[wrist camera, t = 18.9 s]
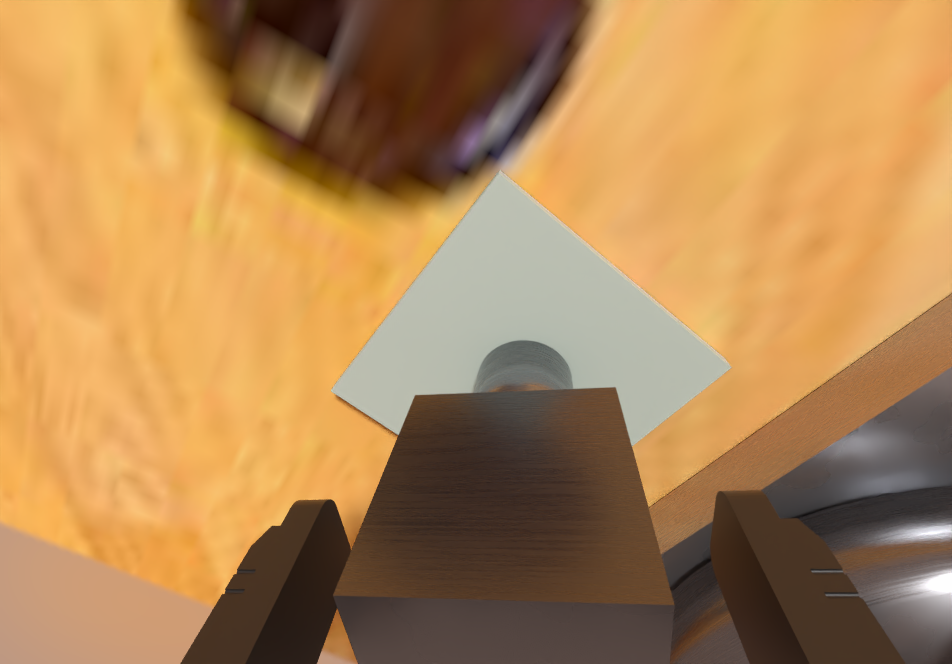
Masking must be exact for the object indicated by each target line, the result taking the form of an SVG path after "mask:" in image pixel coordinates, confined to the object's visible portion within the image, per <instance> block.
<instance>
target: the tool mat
mask: <svg viewBox="0 0 952 664" xmlns="http://www.w3.org/2000/svg"><path fill="white" fill-rule="evenodd" d="M518 340H529V341H535V342H539V343H542V344H545V345H547V346H549V347H551V348H553V349H554V350H555V351H557V352H558V353H559V354H560V355H561V356H562V357H563V358H564V359H565V361H566V362H567V364H568V366H569V368H570V371H571V375H572V382H573V389H582V388H608V387H616V390H617V393H618V397H619V401H620V405H621V408H622V412H623V416H624V419H625V423H626V427H627V431H628V434H629V438H630V442H631V445H632V446H633V445H634V444H636V443H637V442H638V441H639V440H641V439H642V438H643V437H645V436H646V435H647V434H648V433H650V432H651V431H652V430H653V429H655V428H656V427H657V426H658V425H660V424H661V423H662V422H664V421H665V420H666V419H667V418H669V417H670V416H671V415H672V414H674V413H675V412H676V411H677V410H679V409H680V408H681V407H682V406H684V405H685V404H686V403H688V402H689V401H690V400H691V399H693V398H694V397H695V396H696V395H698V394H699V393H700V392H701V391H703V390H704V389H705V388H707V387H708V386H709V385H710V384H712V383H713V382H714V381H715V380H717V379H718V378H719V377H720V376H722V375H723V374H724V373H726V372H727V371H728V370H729V369H731V368H732V367H731V366H730V365H729V363H728V362H727V361H726V359H725V358H724V357H723V356H722V355H720V354H719V353H718V352H717V351H716V350H714V349H713V348H712V347H711V346H710V345H708V344H707V343H706V342H705V341H704V340H702V339H701V338H700V337H699V336H698V335H696V334H695V333H694V332H693V331H692V330H690V329H689V328H688V327H687V326H686V325H685V324H683V323H682V322H681V321H680V320H679V319H677V318H676V317H675V316H674V315H673V314H671V313H670V312H669V311H668V310H667V309H665V308H664V307H663V306H662V305H661V304H659V303H658V302H657V301H656V300H655V299H653V298H652V297H651V296H650V295H649V294H647V293H646V292H645V291H644V290H643V289H642V288H640V287H639V286H638V285H637V284H636V283H634V282H633V281H632V280H631V279H630V278H628V277H627V276H626V275H625V274H624V273H622V272H621V271H620V270H619V269H618V268H616V267H615V266H614V265H613V264H612V263H610V262H609V261H608V260H607V259H606V258H604V257H603V256H602V255H601V254H600V253H599V252H597V251H596V250H595V249H594V248H593V247H591V246H590V245H589V244H588V243H587V242H585V241H584V240H583V239H582V238H581V237H579V236H578V235H577V234H576V233H575V232H573V231H572V230H571V229H570V228H569V227H567V226H566V225H565V224H564V223H563V222H561V221H560V220H559V219H558V218H557V217H556V216H554V215H553V214H552V213H551V212H550V211H548V210H547V209H546V208H545V207H544V206H542V205H541V204H540V203H539V202H538V201H536V200H535V199H534V198H533V197H532V196H530V195H529V194H528V193H527V192H526V191H524V190H523V189H522V188H521V187H520V186H518V185H517V184H516V183H515V182H514V181H513V180H511V179H510V178H509V177H508V176H507V175H505V174H504V173H503V172H502V171H501V170H499V171H498V173H497V174H496V175H495V177H494V178H493V179H492V180H491V182H490V183H489V184H488V186H487V187H486V188H485V190H484V191H483V192H482V193H481V195H480V196H479V197H478V199H477V200H476V201H475V203H474V204H473V205H472V206H471V208H470V209H469V210H468V212H467V213H466V214H465V216H464V217H463V218H462V219H461V221H460V222H459V223H458V225H457V226H456V227H455V229H454V230H453V231H452V232H451V234H450V235H449V236H448V238H447V239H446V240H445V242H444V243H443V244H442V245H441V247H440V248H439V249H438V251H437V252H436V253H435V255H434V256H433V257H432V258H431V260H430V261H429V262H428V264H427V265H426V266H425V268H424V269H423V270H422V271H421V273H420V274H419V275H418V277H417V278H416V279H415V281H414V282H413V283H412V284H411V286H410V287H409V288H408V290H407V291H406V292H405V294H404V295H403V296H402V297H401V299H400V300H399V301H398V303H397V304H396V305H395V307H394V308H393V309H392V310H391V312H390V313H389V314H388V316H387V317H386V318H385V320H384V321H383V322H382V323H381V325H380V326H379V327H378V329H377V330H376V331H375V333H374V334H373V335H372V336H371V338H370V339H369V340H368V342H367V343H366V344H365V346H364V347H363V348H362V349H361V351H360V352H359V353H358V355H357V356H356V357H355V359H354V360H353V361H352V362H351V364H350V365H349V366H348V368H347V369H346V370H345V372H344V373H343V374H342V375H341V377H340V378H339V379H338V381H337V382H336V384H335V385H334V387H333V388H332V390H331V392H333V393H334V394H336V395H337V396H339V397H340V398H342V399H343V400H345V401H347V402H348V403H350V404H351V405H353V406H354V407H356V408H357V409H359V410H360V411H362V412H363V413H365V414H367V415H368V416H370V417H371V418H373V419H374V420H376V421H377V422H379V423H380V424H382V425H383V426H385V427H387V428H388V429H390V430H391V431H393V432H394V433H396V434H397V435H399V433H400V431H401V428H402V426H403V423H404V421H405V418H406V416H407V413H408V411H409V409H410V406H411V404H412V401H413V399H414V396H415V395H430V394H456V393H474V389H475V385H476V380H477V375H478V371H479V368H480V365H481V363H482V362H483V360H484V358H485V357H486V356H487V355H488V354H489V353H490V352H491V351H492V350H494V349H495V348H497V347H498V346H500V345H502V344H505V343H508V342H512V341H518Z"/></svg>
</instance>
